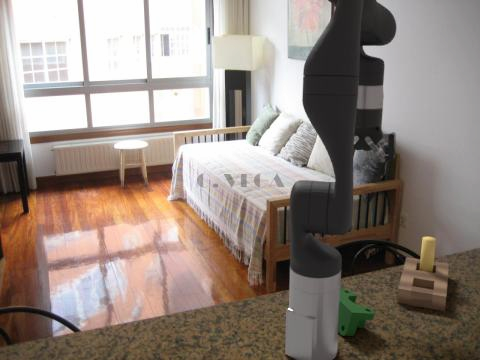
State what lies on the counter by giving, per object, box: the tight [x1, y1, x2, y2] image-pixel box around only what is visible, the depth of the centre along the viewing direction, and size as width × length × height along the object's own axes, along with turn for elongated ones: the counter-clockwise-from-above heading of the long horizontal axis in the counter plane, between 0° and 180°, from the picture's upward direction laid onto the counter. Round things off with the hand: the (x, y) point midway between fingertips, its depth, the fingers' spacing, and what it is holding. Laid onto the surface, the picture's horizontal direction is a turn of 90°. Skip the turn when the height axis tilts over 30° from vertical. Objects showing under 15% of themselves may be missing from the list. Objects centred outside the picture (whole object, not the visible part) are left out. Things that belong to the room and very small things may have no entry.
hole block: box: [396, 257, 450, 312], centre depth 122 cm, size 18×10×4 cm, turn 157°
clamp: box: [338, 288, 376, 337], centre depth 107 cm, size 12×6×9 cm, turn 13°
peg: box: [419, 236, 437, 272], centre depth 124 cm, size 3×3×11 cm
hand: (361, 175), depth 120 cm, fingers open, 8 cm apart
